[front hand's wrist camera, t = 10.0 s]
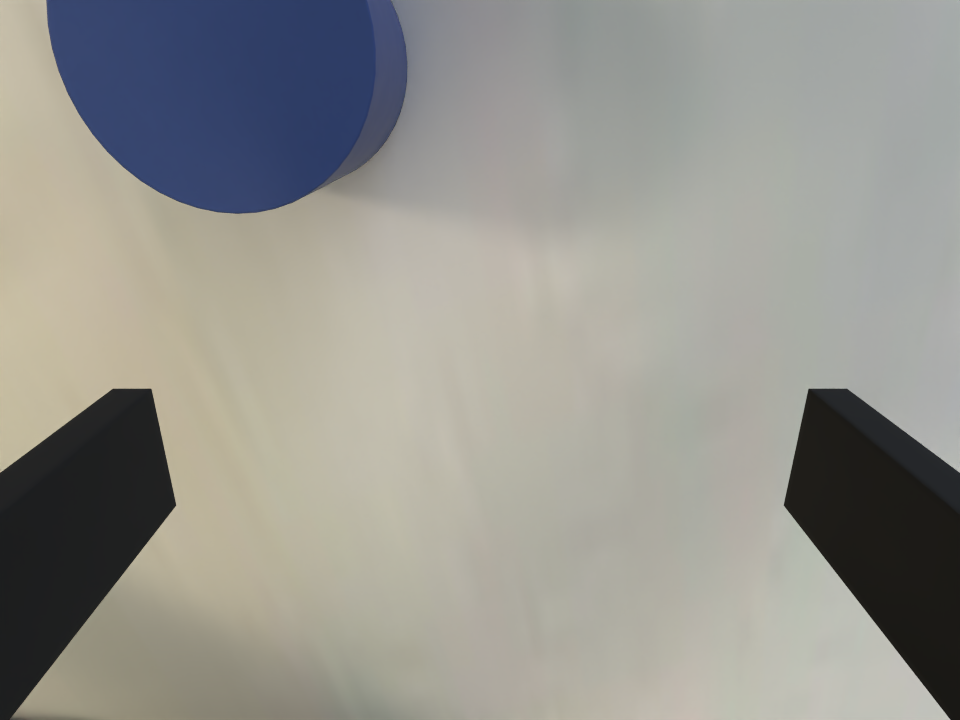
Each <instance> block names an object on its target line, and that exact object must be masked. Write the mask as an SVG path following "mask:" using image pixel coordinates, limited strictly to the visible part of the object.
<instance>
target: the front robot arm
mask: <svg viewBox="0 0 960 720" xmlns="http://www.w3.org/2000/svg"><path fill="white" fill-rule="evenodd" d="M175 506H176V502H175V497H174V493H173V488H172V483H171V479H170V474H169V469H168V465H167V460H166V455H165V451H164V446H163V441H162V436H161V432H160V427H159V422H158V418H157V413H156V408H155V404H154V399H153V394H152V390H151V389H112V390H111V391H109V392H108V393H107V394H105V395H104V396H103V397H101V398H100V399H99V400H97V401H96V402H95V403H93V404H92V405H91V406H89V407H88V408H87V409H85V410H84V411H83V412H81V413H80V414H79V415H77V416H76V417H75V418H73V419H72V420H71V421H69V422H68V423H67V424H65V425H64V426H63V427H61V428H60V429H58V430H57V431H56V432H54V433H53V434H52V435H50V436H49V437H48V438H46V439H45V440H44V441H42V442H41V443H40V444H38V445H37V446H36V447H34V448H33V449H32V450H30V451H29V452H28V453H26V454H25V455H24V456H22V457H21V458H20V459H18V460H17V461H16V462H14V463H13V464H12V465H10V466H9V467H8V468H6V469H5V470H4V471H2V472H1V473H0V720H10V718H11V717H12V716H13V714H14V713H15V712H16V711H17V709H18V708H19V707H20V705H21V704H22V703H23V702H24V700H25V699H26V698H27V696H28V695H29V694H30V693H31V691H32V690H33V689H34V687H35V686H36V685H37V684H38V682H39V681H40V680H41V678H42V677H43V676H44V675H45V673H46V672H47V671H48V669H49V668H50V667H51V666H52V664H53V663H54V662H55V660H56V659H57V658H58V657H59V655H60V654H61V653H62V651H63V650H64V649H65V648H66V646H67V645H68V644H69V642H70V641H71V640H72V639H73V637H74V636H75V635H76V633H77V632H78V631H79V630H80V628H81V627H82V626H83V624H84V623H85V622H86V621H87V619H88V618H89V617H90V615H91V614H92V613H93V612H94V610H95V609H96V608H97V606H98V605H99V604H100V603H101V601H102V600H103V599H104V597H105V596H106V595H107V594H108V592H109V591H110V590H111V588H112V587H113V586H114V585H115V583H116V582H117V581H118V579H119V578H120V577H121V576H122V574H123V573H124V572H125V570H126V569H127V568H128V567H129V565H130V564H131V563H132V562H133V560H134V559H135V558H136V556H137V555H138V554H139V553H140V551H141V550H142V549H143V547H144V546H145V545H146V544H147V542H148V541H149V540H150V538H151V537H152V536H153V535H154V533H155V532H156V531H157V529H158V528H159V527H160V526H161V524H162V523H163V522H164V520H165V519H166V518H167V517H168V515H169V514H170V513H171V511H172V510H173V509H174V508H175ZM784 506H785V508H786V509H787V510H788V511H789V513H790V514H791V515H792V517H793V518H794V519H795V520H796V522H797V523H798V524H799V526H800V527H801V528H802V529H803V531H804V532H805V533H806V535H807V536H808V537H809V538H810V540H811V541H812V542H813V544H814V545H815V546H816V547H817V549H818V550H819V551H820V553H821V554H822V555H823V556H824V558H825V559H826V560H827V562H828V563H829V564H830V565H831V567H832V568H833V569H834V570H835V572H836V573H837V574H838V576H839V577H840V578H841V579H842V581H843V582H844V583H845V585H846V586H847V587H848V588H849V590H850V591H851V592H852V594H853V595H854V596H855V597H856V599H857V600H858V601H859V603H860V604H861V605H862V606H863V608H864V609H865V610H866V612H867V613H868V614H869V615H870V617H871V618H872V619H873V621H874V622H875V623H876V624H877V626H878V627H879V628H880V630H881V631H882V632H883V633H884V635H885V636H886V637H887V639H888V640H889V641H890V642H891V644H892V645H893V646H894V648H895V649H896V650H897V651H898V653H899V654H900V655H901V657H902V658H903V659H904V660H905V662H906V663H907V664H908V666H909V667H910V668H911V669H912V671H913V672H914V673H915V675H916V676H917V677H918V678H919V680H920V681H921V682H922V684H923V685H924V686H925V687H926V689H927V690H928V691H929V693H930V694H931V695H932V696H933V698H934V699H935V700H936V702H937V703H938V704H939V705H940V707H941V708H942V709H943V711H944V712H945V713H946V714H947V716H948V717H949V718H950V720H960V473H959V472H958V471H956V470H955V469H954V468H952V467H951V466H950V465H948V464H947V463H946V462H944V461H943V460H942V459H940V458H939V457H938V456H936V455H935V454H934V453H932V452H931V451H930V450H928V449H927V448H926V447H924V446H923V445H922V444H920V443H919V442H918V441H916V440H915V439H914V438H912V437H911V436H910V435H908V434H907V433H906V432H904V431H903V430H902V429H900V428H899V427H897V426H896V425H895V424H893V423H892V422H891V421H889V420H888V419H887V418H885V417H884V416H883V415H881V414H880V413H879V412H877V411H876V410H875V409H873V408H872V407H871V406H869V405H868V404H867V403H865V402H864V401H863V400H861V399H860V398H859V397H857V396H856V395H855V394H853V393H852V392H851V391H849V390H848V389H809V390H808V394H807V399H806V404H805V408H804V413H803V418H802V422H801V427H800V432H799V436H798V441H797V446H796V451H795V455H794V460H793V465H792V469H791V474H790V479H789V483H788V488H787V493H786V497H785V502H784Z"/></svg>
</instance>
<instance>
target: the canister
mask: <svg viewBox="0 0 960 720" xmlns="http://www.w3.org/2000/svg"><path fill="white" fill-rule="evenodd" d="M47 18H48V28H49V33H50V39H51V45H52V50H53V53H54V56H55V60H56V63H57V67H58V70H59V73H60V75H61V78H62V80H63V83H64V85H65V87H66V90H67V92H68V94H69V96H70V98H71V100H72V102H73V104H74V106H75V107H76V109H77V111H78V113H79V115H80V116H81V118H82V119H83V121H84V122H85V124H86V125H87V127H88V128H89V130H90V131H91V132H92V134H93V135H94V136H95V138H96V139H97V140H98V141H99V142H100V143H101V145H102V146H103V147H104V148H105V149H106V151H107V152H108V153H109V154H110V155H111V156H112V157H113V158H114V159H115V160H117V161H118V162H119V163H120V164H121V165H122V166H123V167H124V168H125V169H126V170H128V171H129V172H130V173H131V174H133V175H134V176H135V177H137V178H138V179H139V180H140V181H142V182H143V183H145V184H147V185H148V186H150V187H152V188H153V189H155V190H156V191H158V192H160V193H162V194H164V195H166V196H168V197H170V198H172V199H174V200H176V201H179V202H181V203H184V204H187V205H190V206H193V207H196V208H200V209H205V210H210V211H214V212H222V213H235V214H240V213H256V212H261V211H267V210H272V209H276V208H279V207H281V206H284V205H287V204H290V203H293V202H295V201H297V200H298V199H300V198H302V197H304V196H306V195H308V194H310V193H312V192H314V191H316V190H318V189H320V188H322V187H324V186H326V185H328V184H329V183H331V182H333V181H335V180H337V179H339V178H341V177H343V176H345V175H347V174H349V173H351V172H353V171H354V170H356V169H358V168H359V167H360V166H362V165H363V164H364V163H366V162H367V161H368V160H369V159H370V158H371V157H372V156H373V155H374V154H375V153H376V152H378V150H379V149H380V148H381V146H382V145H383V144H384V143H385V141H386V140H387V138H388V137H389V135H390V133H391V131H392V130H393V128H394V126H395V124H396V121H397V119H398V117H399V114H400V111H401V108H402V104H403V101H404V97H405V90H406V83H407V56H406V46H405V42H404V37H403V32H402V28H401V25H400V22H399V19H398V16H397V13H396V11H395V9H394V7H393V5H392V3H391V0H47Z"/></svg>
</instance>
